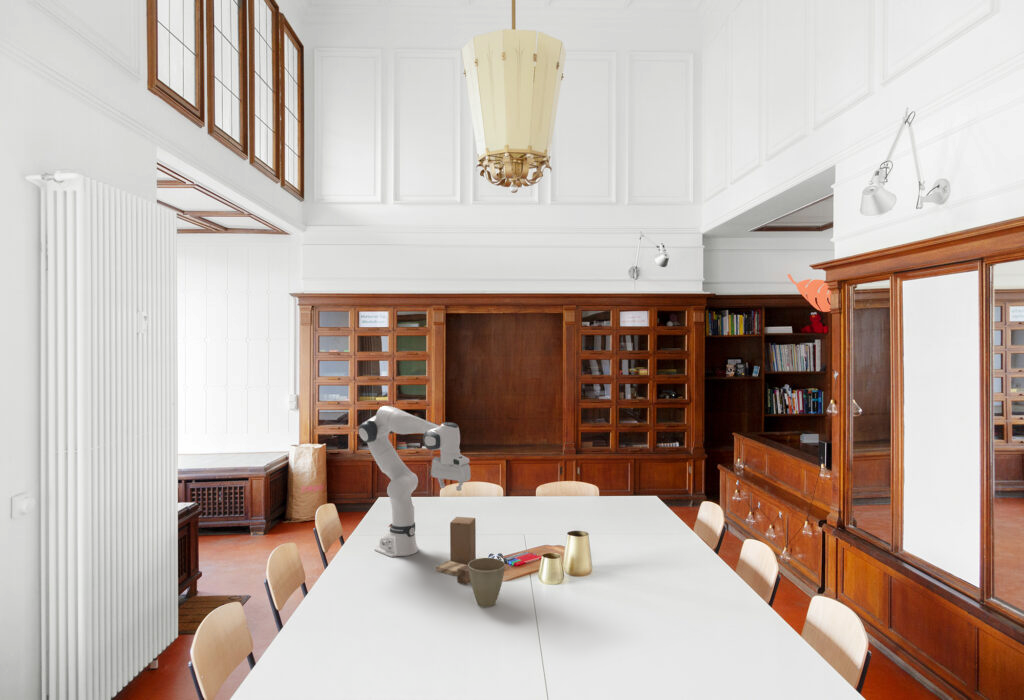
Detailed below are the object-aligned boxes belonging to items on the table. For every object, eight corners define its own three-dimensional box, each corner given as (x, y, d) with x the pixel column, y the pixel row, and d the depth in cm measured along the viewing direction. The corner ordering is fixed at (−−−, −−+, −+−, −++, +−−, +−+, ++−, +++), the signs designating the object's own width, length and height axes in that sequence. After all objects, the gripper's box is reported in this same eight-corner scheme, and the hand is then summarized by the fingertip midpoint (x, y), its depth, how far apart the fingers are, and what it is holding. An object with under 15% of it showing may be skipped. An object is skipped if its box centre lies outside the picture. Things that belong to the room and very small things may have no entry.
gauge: (457, 582, 265) (457, 568, 265) (474, 573, 276) (474, 560, 276) (466, 584, 263) (466, 571, 263) (483, 575, 273) (483, 562, 273)
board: (436, 570, 279) (436, 566, 279) (448, 564, 286) (448, 560, 286) (478, 581, 266) (478, 577, 266) (490, 574, 274) (490, 570, 274)
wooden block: (470, 565, 285) (470, 523, 285) (450, 564, 287) (449, 522, 287) (475, 558, 295) (475, 517, 295) (456, 556, 297) (456, 516, 297)
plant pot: (477, 614, 233) (477, 573, 233) (462, 600, 247) (462, 561, 246) (511, 606, 240) (511, 566, 240) (495, 593, 253) (495, 555, 253)
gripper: (428, 457, 276) (428, 487, 276) (463, 462, 265) (464, 493, 265) (437, 455, 281) (437, 484, 282) (472, 459, 270) (472, 490, 271)
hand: (450, 489), depth 273 cm, fingers open, 8 cm apart
